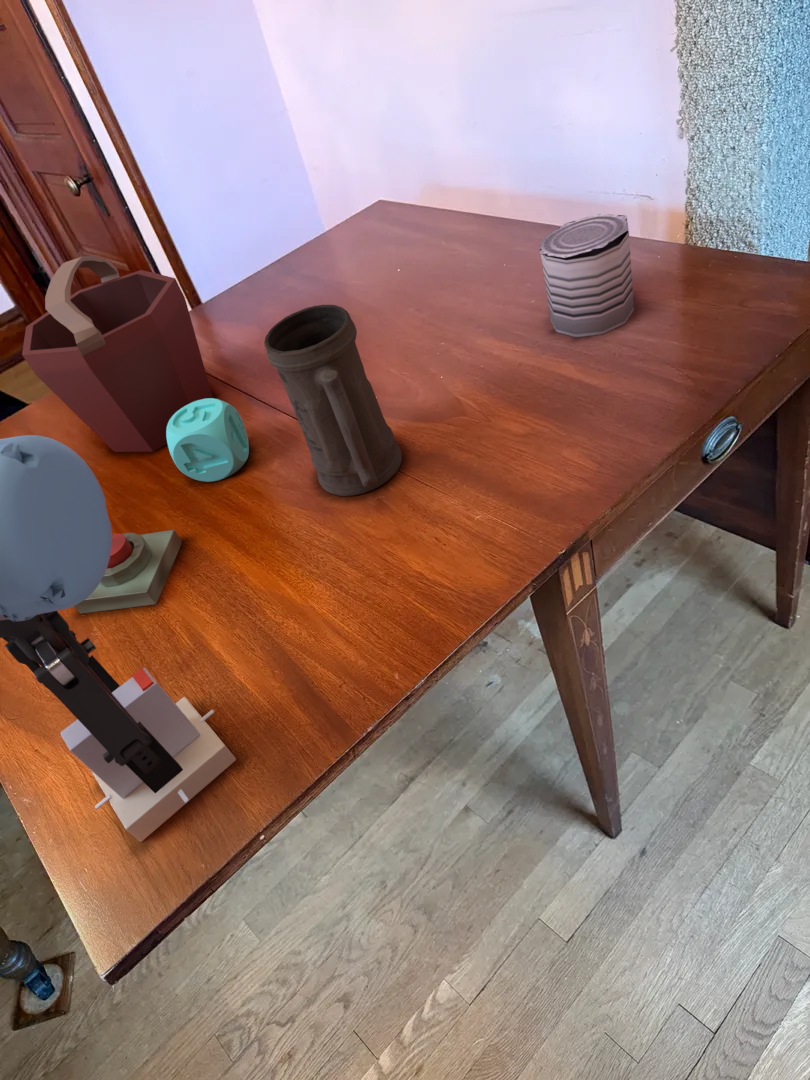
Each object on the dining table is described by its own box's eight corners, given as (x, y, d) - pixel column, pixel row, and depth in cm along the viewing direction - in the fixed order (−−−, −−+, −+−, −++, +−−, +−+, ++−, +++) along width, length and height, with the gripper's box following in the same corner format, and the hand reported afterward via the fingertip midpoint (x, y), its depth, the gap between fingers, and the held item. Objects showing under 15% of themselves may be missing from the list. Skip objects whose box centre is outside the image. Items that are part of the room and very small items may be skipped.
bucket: (197, 460, 103) (101, 294, 87) (62, 482, 109) (-52, 330, 92) (242, 365, 121) (169, 212, 104) (124, 388, 126) (37, 246, 110)
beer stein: (304, 465, 96) (244, 331, 81) (376, 426, 97) (330, 288, 83) (355, 533, 85) (297, 392, 71) (435, 488, 87) (393, 342, 73)
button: (126, 566, 84) (118, 555, 83) (95, 570, 85) (87, 560, 84) (138, 541, 87) (130, 531, 86) (108, 546, 88) (100, 535, 87)
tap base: (139, 870, 61) (122, 856, 59) (86, 779, 69) (70, 764, 67) (258, 765, 65) (246, 749, 63) (196, 691, 73) (183, 675, 71)
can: (597, 345, 97) (588, 258, 90) (533, 327, 105) (519, 245, 97) (652, 303, 101) (648, 215, 93) (585, 288, 109) (576, 206, 101)
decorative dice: (245, 475, 98) (219, 426, 92) (189, 488, 99) (160, 440, 94) (252, 439, 104) (228, 391, 98) (199, 452, 105) (173, 405, 100)
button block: (156, 604, 84) (138, 580, 81) (80, 614, 86) (60, 591, 84) (182, 542, 91) (167, 518, 88) (111, 552, 93) (94, 529, 91)
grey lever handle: (122, 799, 63) (68, 749, 57) (111, 781, 65) (57, 731, 59) (200, 734, 66) (155, 680, 60) (188, 719, 67) (143, 665, 62)
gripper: (81, 604, 43) (241, 791, 57) (-19, 474, 57) (129, 650, 72) (-42, 691, 40) (159, 864, 55) (-113, 532, 55) (60, 702, 70)
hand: (142, 742), depth 63 cm, fingers open, 9 cm apart
